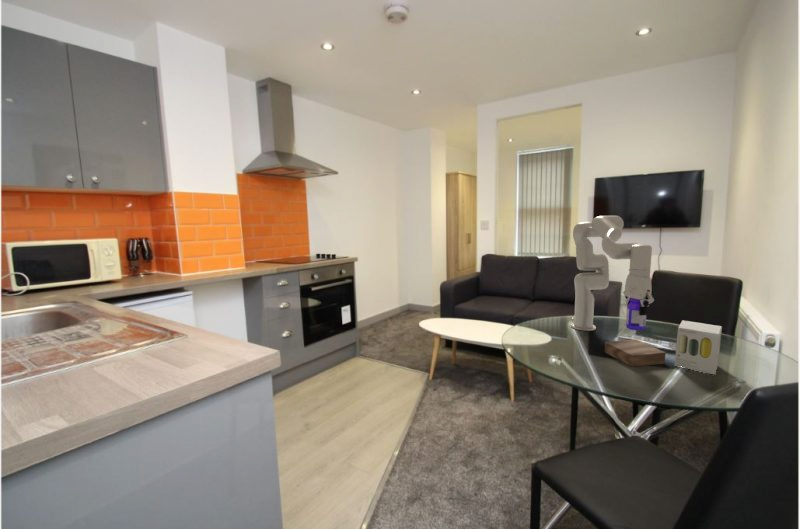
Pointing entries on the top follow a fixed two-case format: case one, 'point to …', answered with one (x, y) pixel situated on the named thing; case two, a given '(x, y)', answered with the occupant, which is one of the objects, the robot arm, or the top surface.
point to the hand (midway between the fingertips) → (636, 312)
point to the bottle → (635, 316)
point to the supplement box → (698, 346)
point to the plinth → (635, 353)
